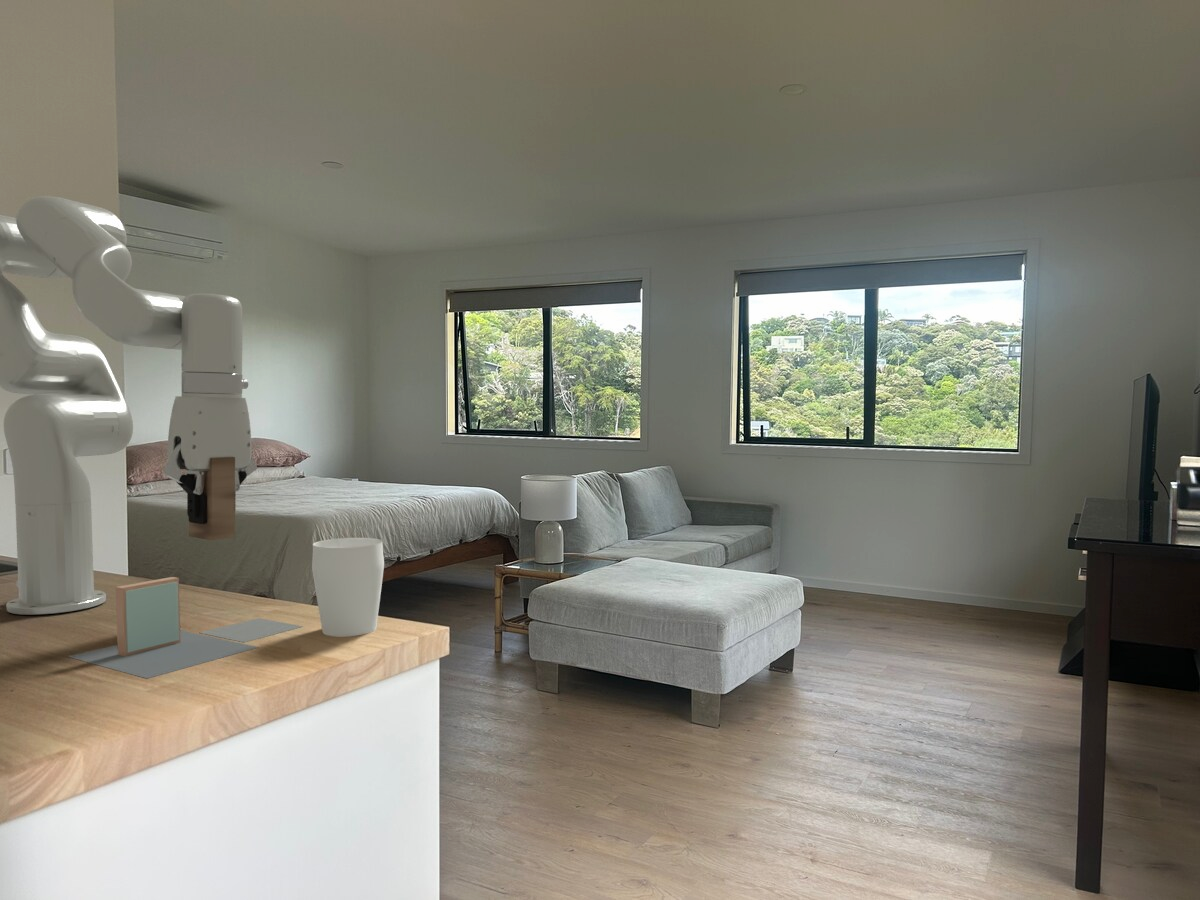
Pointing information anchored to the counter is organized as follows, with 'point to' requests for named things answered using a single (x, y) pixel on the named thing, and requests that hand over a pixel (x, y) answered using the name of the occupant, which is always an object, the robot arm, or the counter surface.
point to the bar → (218, 501)
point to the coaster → (251, 630)
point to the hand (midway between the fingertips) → (211, 519)
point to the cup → (348, 584)
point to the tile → (147, 615)
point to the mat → (165, 655)
